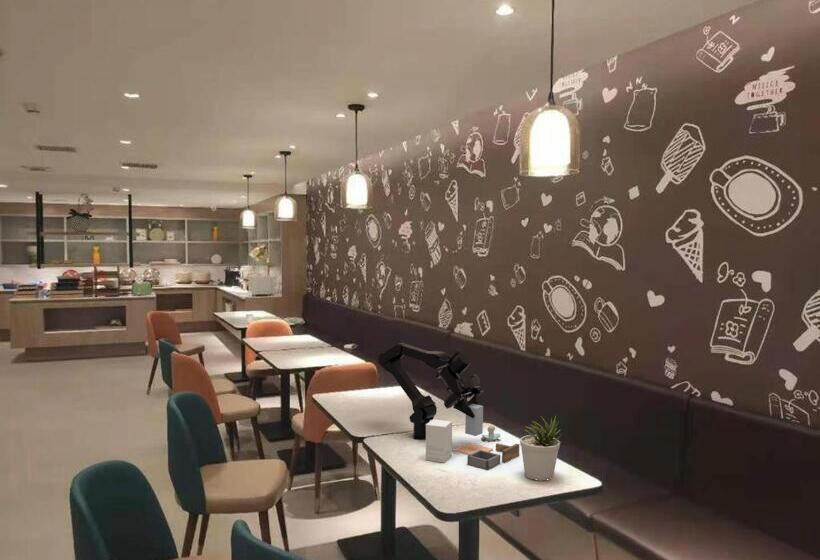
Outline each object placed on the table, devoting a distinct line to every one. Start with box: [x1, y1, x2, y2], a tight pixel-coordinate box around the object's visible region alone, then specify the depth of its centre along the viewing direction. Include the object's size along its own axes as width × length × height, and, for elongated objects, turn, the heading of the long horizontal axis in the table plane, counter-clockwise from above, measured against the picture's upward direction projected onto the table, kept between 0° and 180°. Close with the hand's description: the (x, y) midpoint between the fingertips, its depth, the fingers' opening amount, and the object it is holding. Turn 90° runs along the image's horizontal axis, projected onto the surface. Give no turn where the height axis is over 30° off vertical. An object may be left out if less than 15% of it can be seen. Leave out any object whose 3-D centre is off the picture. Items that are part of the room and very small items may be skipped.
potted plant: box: [519, 415, 563, 481], centre depth 188 cm, size 13×14×20 cm
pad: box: [454, 442, 494, 456], centre depth 213 cm, size 10×10×1 cm
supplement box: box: [425, 418, 453, 464], centre depth 204 cm, size 7×7×13 cm
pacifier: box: [480, 424, 501, 442], centre depth 226 cm, size 7×6×6 cm
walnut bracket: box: [495, 442, 521, 464], centre depth 208 cm, size 9×10×4 cm
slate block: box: [464, 404, 484, 437], centre depth 213 cm, size 4×4×10 cm
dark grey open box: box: [467, 450, 501, 471], centre depth 200 cm, size 8×8×3 cm
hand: (477, 416), depth 212 cm, fingers closed on slate block, 4 cm apart
